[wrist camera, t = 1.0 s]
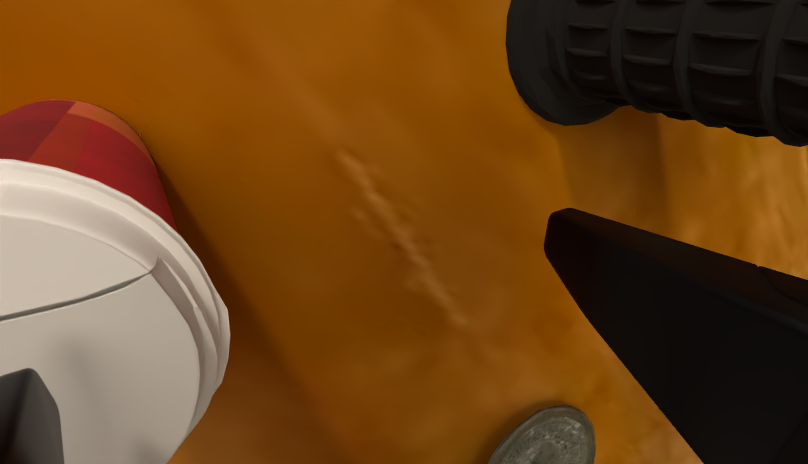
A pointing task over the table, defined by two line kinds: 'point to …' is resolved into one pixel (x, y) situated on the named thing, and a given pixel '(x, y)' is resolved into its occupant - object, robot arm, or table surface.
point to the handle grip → (665, 61)
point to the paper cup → (102, 286)
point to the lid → (549, 439)
